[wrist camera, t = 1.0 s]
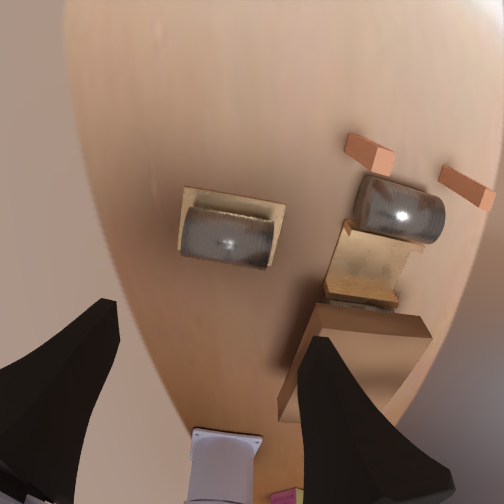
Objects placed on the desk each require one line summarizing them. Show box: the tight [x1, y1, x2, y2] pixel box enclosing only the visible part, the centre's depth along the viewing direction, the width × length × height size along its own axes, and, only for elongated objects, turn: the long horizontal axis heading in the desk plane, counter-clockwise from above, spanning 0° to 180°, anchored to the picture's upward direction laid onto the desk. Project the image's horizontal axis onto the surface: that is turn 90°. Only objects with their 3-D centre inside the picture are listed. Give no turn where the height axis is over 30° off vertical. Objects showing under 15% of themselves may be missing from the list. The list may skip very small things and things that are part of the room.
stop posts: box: [344, 133, 496, 212], centre depth 16 cm, size 1×8×5 cm, turn 79°
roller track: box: [177, 176, 445, 313], centre depth 21 cm, size 19×16×3 cm
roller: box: [180, 206, 274, 270], centre depth 19 cm, size 5×3×3 cm, turn 79°
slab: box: [277, 303, 433, 423], centre depth 21 cm, size 10×8×2 cm
